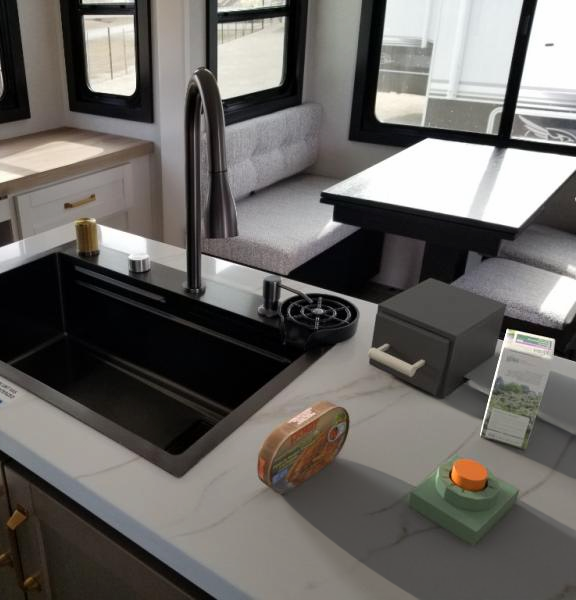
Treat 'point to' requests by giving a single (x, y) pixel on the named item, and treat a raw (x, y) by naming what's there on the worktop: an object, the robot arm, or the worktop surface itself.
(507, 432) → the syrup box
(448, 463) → the green button base
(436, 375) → the dark grey drawer
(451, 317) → the grey drawer box
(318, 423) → the tin
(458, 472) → the button
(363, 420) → the worktop surface
